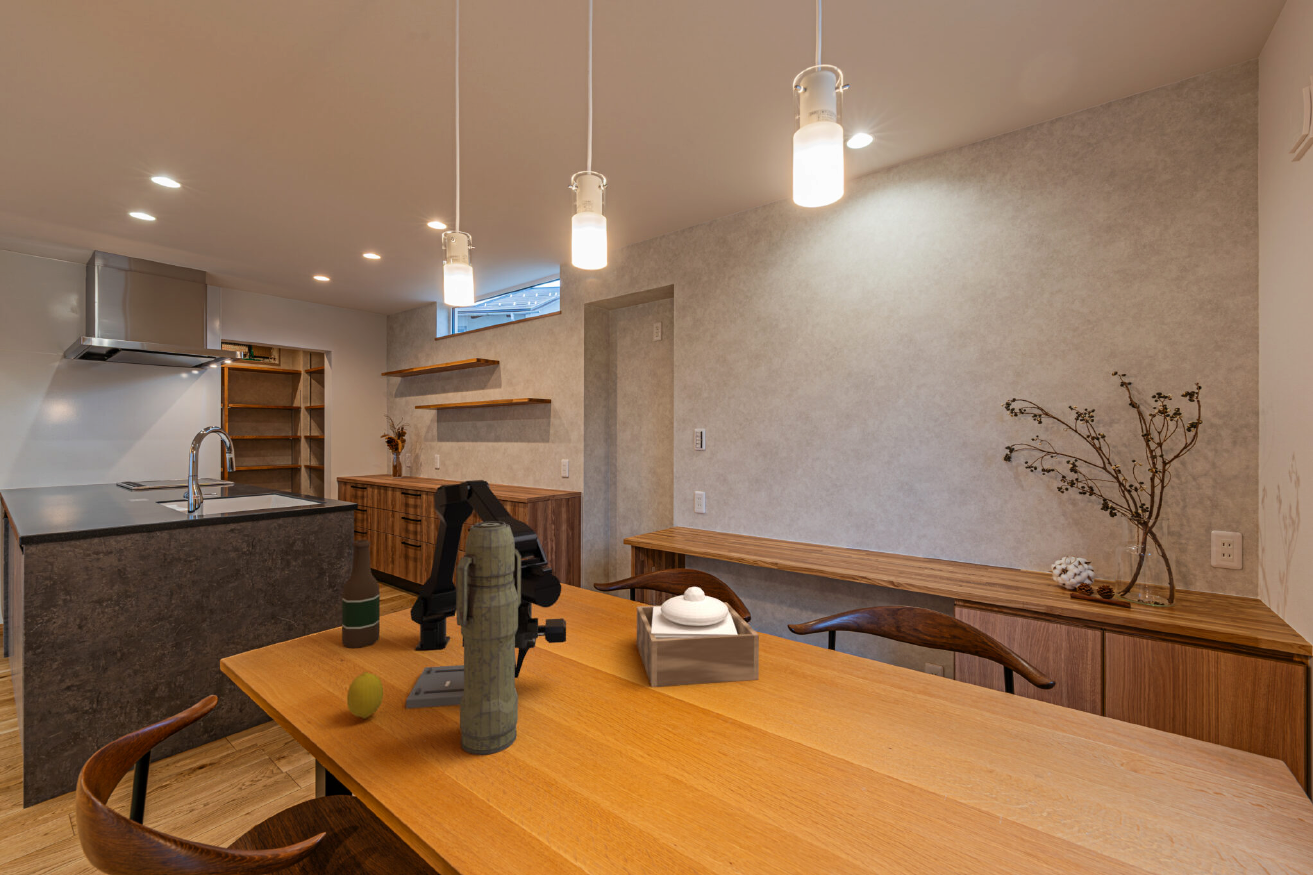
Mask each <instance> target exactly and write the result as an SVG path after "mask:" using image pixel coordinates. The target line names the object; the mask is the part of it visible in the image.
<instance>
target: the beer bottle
mask: <svg viewBox="0 0 1313 875" xmlns="http://www.w3.org/2000/svg"><path fill="white" fill-rule="evenodd" d="M351 546H352V547H353V553H352V567H351V574H350V576H349V578H347V580H346V582H345V584H344V587H343V589H342V597H341V598H342V599H341V614H342V615H341V641H342V644H343V646H344V647H346V649H361V648H364V647H369V646H373V645H374V644H375V643H376V642H378V641H379V640H380V631H381V630H380V625H381V624H380V623H381V622H380V616H381V615H380V611H381V608H380V605H381V603H380V602H381V600H380V599H381V598H380V595H381V594H380V586H379V583H378V581H377V579H376V577H375V576H374V575H373V573H372V569H371V558H370V546H371V542H370V540H367V539H359V540H358V539H357V540H354V541H353V542H352V545H351Z"/></svg>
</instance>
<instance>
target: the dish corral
mask: <svg viewBox="0 0 1313 875" xmlns="http://www.w3.org/2000/svg"><path fill="white" fill-rule="evenodd" d="M723 603H724V604H725V605H726V606H727V607H728V611H729V613H730V614H731V617H732V620H733V623H734V625H735V628H736V631H737V634H738V635H723V636H705V637H687V638H669V639H656V637H655V635H654V633H651V630H652V618H653V607H661V606H662V604H661V605H640V606H636V648H637V650H638V653H639V655H640V658H641V660H642V664H643V666H644V669H645V672H646V675H647V678H648V681H649V683H650V686H651V688H657V687H658V688H659V687H671V686H685V685H686V686H687V685H699V684H700V685H701V684H712V683H713V684H715V683H728V682H742V681H753V680H754V681H755V680H759V671H760V670H759V667H760V666H759V663H760V662H759V661H760V660H759V657H760V656H759V655H760V652H759V649H760V644H759V643H760V635H759V634H758V633H757V632H756V631H755V629H753V627H752V626H750V625H749V624H748V622H746V621H745V619H743V618H742V617H741V615H740V614H739V613H738V612H737V611H735V609H734V608H733V607H732V606H731V605H730V604H729V603H728V602H723Z"/></svg>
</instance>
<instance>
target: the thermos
mask: <svg viewBox="0 0 1313 875" xmlns="http://www.w3.org/2000/svg"><path fill="white" fill-rule="evenodd" d="M514 546H515V541H514V537H513V534H512V531H511V528H510V525H508V524H505V522H497V521H490V522H483V521H482V522H476V523H475V524H474V525H471V527H470V529H469V531H468V535H467V537H466V541H465V554H464V555H463V556H462V557H460V560H459V562H458V563H457V564H456V565H457V566H455V570H456V572H455V574H456V575H455V576H456V579H455V580H456V583H455V586H456V613H455V616H456V626H460V633H461V636H462V639H463V638H464V647H463V665H464V694H463V697H462V699H461V702H460V705H459V729H460V732H461V736H460V737H461V738H460V745H461V749H462V750H464V752H466V753H470V754H472V755H479V756H480V755H481V756H483V755H491V754H496V753H499V752H502V751H504V750H506V749H508V748H509V747H510V746H512V745H513V744H514V743H515V741H516V740H517V724H518V721H519V720H518V718H519V714H518V713H519V711H518V709H519V695H518V692H517V689H516V687H515V681H516V680H515V679H516V678H515V658H516V650H515V649H516V648H515V634H516V631H517V628H518V607H519V605H520V604H521V560H522V559H521V555H520V553H519V551H518V550H516V549H514Z"/></svg>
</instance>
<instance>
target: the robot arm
mask: <svg viewBox="0 0 1313 875" xmlns="http://www.w3.org/2000/svg"><path fill="white" fill-rule="evenodd" d="M433 498H434V500H433V502H434V510H435V512H436V514H437V516H438V518H439V524H438V530H437V537H436V541H435V542H436V543H435V547H434V548H435V549H434V553H433V559H432V564H431V571H430V576H429V578H427V580H425V582H424V583H423V584H422V585H421V587H420V590H419V592H418V596H417V598H416V600H415V601H414V604H413V606H412V607H411V609H410V612H409V613H410V619H411V621H412V622H414V623H416V624H417V625H419V641H418V643H416V644H417V645H416V646H415V651H421V650H422V651H423V650H442V649H443V650H444V649H445V648H446V647H447V645H448V643H449V642H450V639H451V636H447V618H451V617H455V616H456V583H454V576H455V570H456V565H457V559H458V554H459V547H460V542H461V539H462V538H461V537H462V531H463V528H464V524H465V522H467V520H468V519H469V518H470V517H471V516H472V515H473V513H474V512H475V513H476V514H477V516H478V517H479V519H480V520H481V521H482V522H490V521H497V522H505V524H508V525H510V528H511V531H512V534H513V537H514V541H515V546H514V549H516V550H518V551H519V553H520V555H521V604H520V605H519V607H518V628H517V631H516V634H515V649H518V651H517V657H515V679H519V675H520V672H521V669H522V666H523V662H524V660H525V657H526V655H527V654H528V652H529V650H530V649H534V648H535V647H536V643H537V639H538V638H539V637H544V639H545V641H546V642H548V644H555V643H556V644H558V643H559V644H560V643H565V642H567V621H566V620H565V619H564V618H546V619H545V624H543V625H539V617H533V615H532V614H533V611H532V610H533V605H536V606H538V607H541V608H550V607H552V606H554V605H555V604H556V603H557V602H558V600H559V598H560V597H561V593H562V584H561V581H560V580H559V578H558V577H557V576H556V575H555V574H554V575H553V569H552V567H549V566H548V564H549V562H548V559H547V553H546V552H545V550H544V548H543V547H542V545H541V542H540V539H539V537H538V535H537V533H536V531H535V530H534V529H533V528H532V527H531V526H529V524H527V523H526V522H524V521H522V520H519V519H516V518H514V517H513V516H512V515H511V514H510V512H509V511H508V510H507V508H506V507H505V506H504V504H503V503H502V502H501V501H500V499H499V498H498V497H497V496H496V495H495V494H494V493H493V491H492V490H491V489H490V484H489V482H488V481H487V480H483V479H476V480H475V479H473V480H465V481H463V482H460V483H456V484H455V483H454V484H441V485H440V486H438V487H437V488H436V491H435V492H434V496H433ZM462 647H463V648H464V638H463V637H462ZM516 658H517V660H516Z"/></svg>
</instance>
